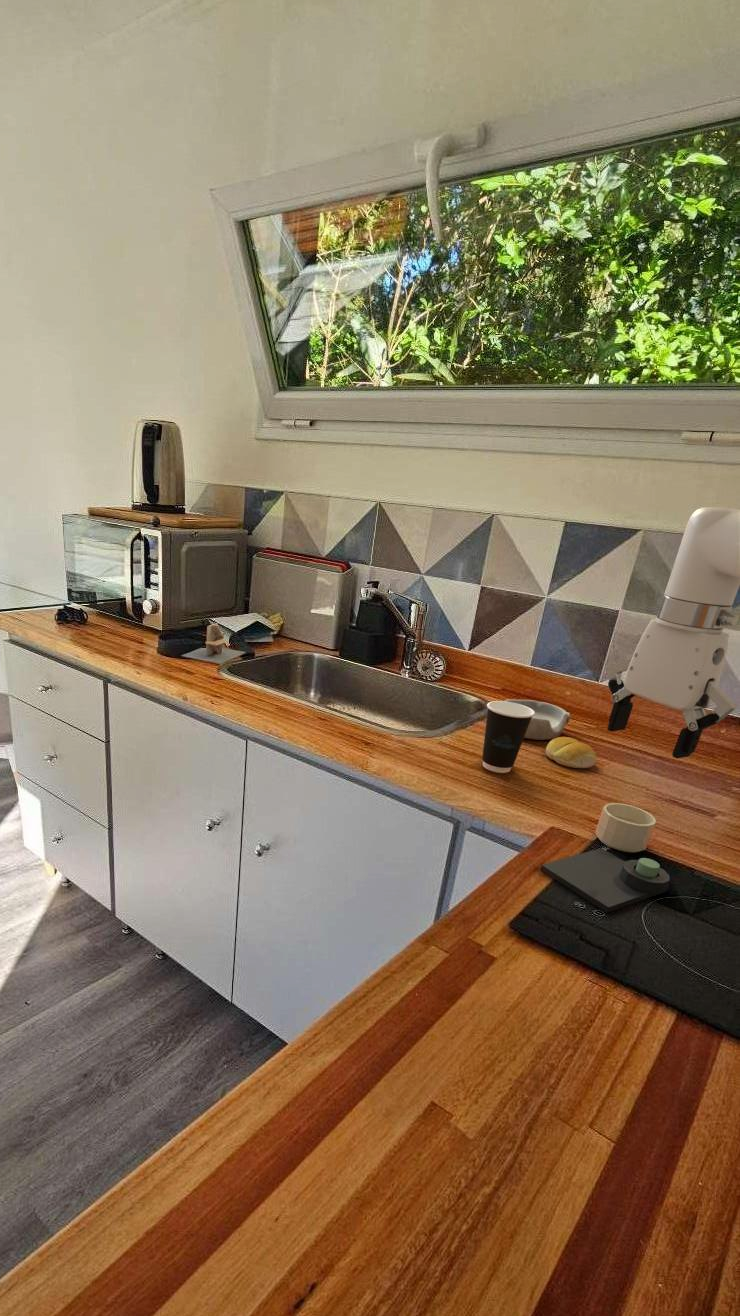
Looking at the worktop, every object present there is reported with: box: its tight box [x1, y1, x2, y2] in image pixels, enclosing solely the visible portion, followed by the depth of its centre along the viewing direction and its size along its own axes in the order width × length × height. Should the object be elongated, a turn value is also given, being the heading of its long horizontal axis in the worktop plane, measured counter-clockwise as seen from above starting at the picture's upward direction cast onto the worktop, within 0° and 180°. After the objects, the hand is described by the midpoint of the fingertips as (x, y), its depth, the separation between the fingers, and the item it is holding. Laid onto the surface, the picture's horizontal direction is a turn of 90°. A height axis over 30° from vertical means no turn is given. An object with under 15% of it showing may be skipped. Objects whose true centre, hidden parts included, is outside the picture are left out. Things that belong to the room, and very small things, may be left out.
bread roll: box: [545, 736, 598, 769], centre depth 124 cm, size 8×9×4 cm
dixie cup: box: [481, 700, 535, 774], centre depth 115 cm, size 8×8×11 cm
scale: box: [539, 847, 671, 914], centre depth 84 cm, size 12×11×2 cm
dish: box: [504, 699, 571, 741], centre depth 137 cm, size 14×14×5 cm
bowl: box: [594, 802, 657, 853], centre depth 94 cm, size 7×7×5 cm
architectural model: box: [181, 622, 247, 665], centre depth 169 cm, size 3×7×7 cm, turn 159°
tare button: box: [636, 857, 661, 878], centre depth 83 cm, size 2×2×2 cm
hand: (647, 742), depth 90 cm, fingers open, 9 cm apart
